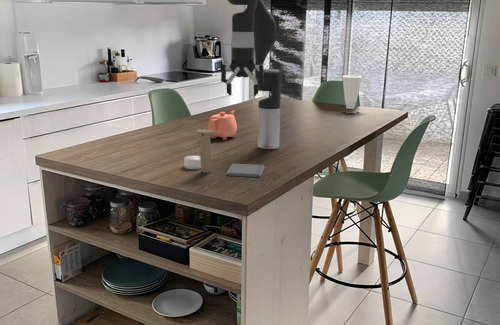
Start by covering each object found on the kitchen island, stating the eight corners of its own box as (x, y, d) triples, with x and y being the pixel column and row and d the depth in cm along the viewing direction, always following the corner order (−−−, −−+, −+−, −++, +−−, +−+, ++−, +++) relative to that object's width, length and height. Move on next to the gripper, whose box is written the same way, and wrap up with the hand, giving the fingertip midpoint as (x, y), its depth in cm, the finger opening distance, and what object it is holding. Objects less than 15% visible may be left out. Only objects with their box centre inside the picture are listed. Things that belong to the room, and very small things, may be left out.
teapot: (223, 142, 229) (222, 116, 226) (200, 139, 235) (200, 113, 232) (244, 134, 246) (244, 109, 243) (223, 132, 252) (223, 107, 249)
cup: (355, 114, 304) (357, 77, 298) (337, 112, 310) (339, 76, 304) (362, 111, 313) (364, 76, 307) (344, 109, 319) (346, 74, 313)
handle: (200, 169, 188) (200, 129, 184) (216, 171, 186) (216, 130, 182) (195, 172, 183) (194, 131, 179) (211, 174, 181) (211, 133, 177)
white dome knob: (187, 164, 195) (187, 155, 194) (205, 165, 194) (205, 156, 193) (182, 169, 188) (182, 159, 187) (200, 170, 187) (200, 160, 186)
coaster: (232, 166, 192) (232, 163, 192) (264, 167, 190) (264, 165, 190) (226, 175, 180) (226, 172, 180) (260, 177, 179) (260, 174, 179)
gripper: (265, 45, 172) (264, 94, 176) (223, 45, 173) (223, 93, 177) (263, 47, 164) (262, 97, 169) (219, 46, 166) (219, 96, 170)
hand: (242, 95), depth 173 cm, fingers open, 8 cm apart
